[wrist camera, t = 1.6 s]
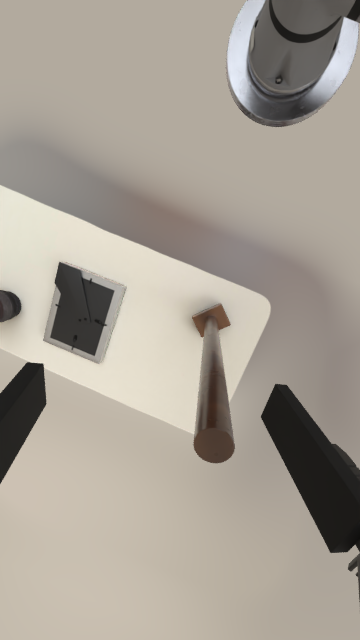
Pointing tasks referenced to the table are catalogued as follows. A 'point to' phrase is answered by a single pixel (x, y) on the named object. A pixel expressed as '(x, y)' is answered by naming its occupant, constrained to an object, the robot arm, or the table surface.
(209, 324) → the brown piece
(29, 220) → the table surface
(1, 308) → the camera lens
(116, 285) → the picture frame
